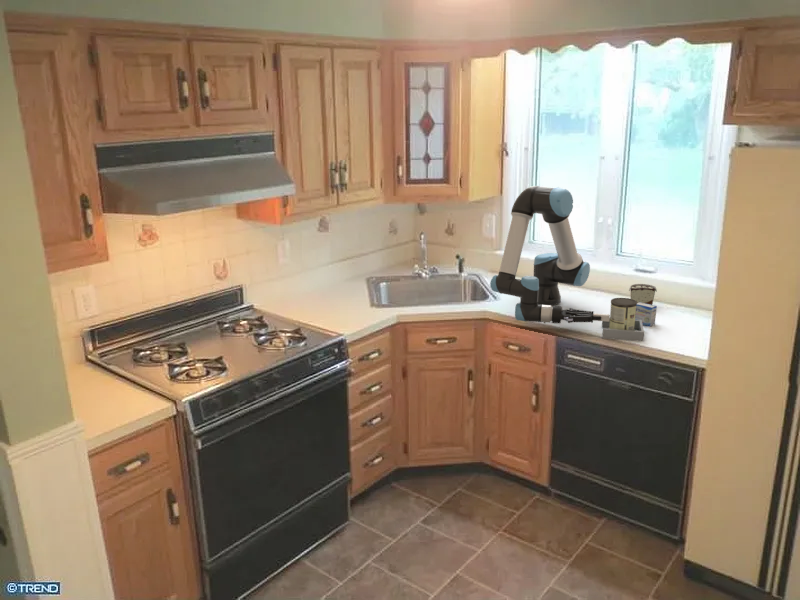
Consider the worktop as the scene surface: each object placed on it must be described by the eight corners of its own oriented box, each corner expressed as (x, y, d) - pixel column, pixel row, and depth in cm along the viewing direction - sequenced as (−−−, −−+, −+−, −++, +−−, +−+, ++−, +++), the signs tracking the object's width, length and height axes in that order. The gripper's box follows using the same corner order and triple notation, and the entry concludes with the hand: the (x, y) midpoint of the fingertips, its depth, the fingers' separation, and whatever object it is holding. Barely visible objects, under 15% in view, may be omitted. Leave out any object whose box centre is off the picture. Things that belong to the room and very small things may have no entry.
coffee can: (612, 327, 293) (615, 296, 289) (637, 331, 288) (640, 299, 284) (605, 334, 285) (607, 302, 281) (630, 339, 280) (633, 306, 275)
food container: (651, 304, 324) (653, 283, 321) (655, 308, 318) (657, 287, 315) (625, 303, 325) (626, 283, 322) (627, 307, 319) (629, 287, 316)
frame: (602, 338, 281) (602, 329, 280) (601, 326, 295) (602, 317, 294) (643, 341, 277) (644, 332, 276) (640, 329, 291) (641, 320, 290)
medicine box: (633, 322, 299) (634, 303, 296) (638, 320, 302) (639, 301, 299) (650, 326, 293) (652, 307, 291) (655, 324, 296) (657, 305, 294)
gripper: (552, 317, 299) (608, 321, 292) (550, 327, 287) (609, 331, 280) (553, 301, 296) (609, 304, 290) (551, 310, 284) (610, 314, 278)
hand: (609, 318), depth 285 cm, fingers closed
